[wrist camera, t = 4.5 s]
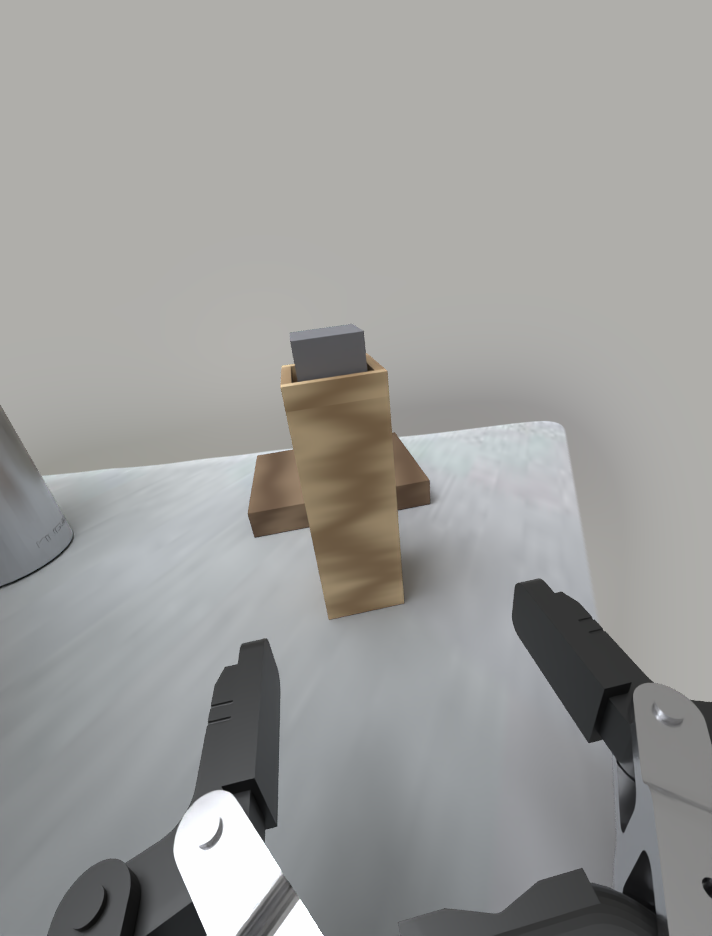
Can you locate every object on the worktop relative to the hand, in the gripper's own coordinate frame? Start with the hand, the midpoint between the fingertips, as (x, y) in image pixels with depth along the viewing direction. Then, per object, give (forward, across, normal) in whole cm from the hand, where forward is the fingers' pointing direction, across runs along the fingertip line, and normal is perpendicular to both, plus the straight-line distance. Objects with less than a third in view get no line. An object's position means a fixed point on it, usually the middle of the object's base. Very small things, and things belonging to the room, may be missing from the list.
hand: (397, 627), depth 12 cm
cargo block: (+12, 0, +5) cm, 13 cm away
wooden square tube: (+12, 0, -9) cm, 15 cm away
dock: (+26, 0, -9) cm, 27 cm away
